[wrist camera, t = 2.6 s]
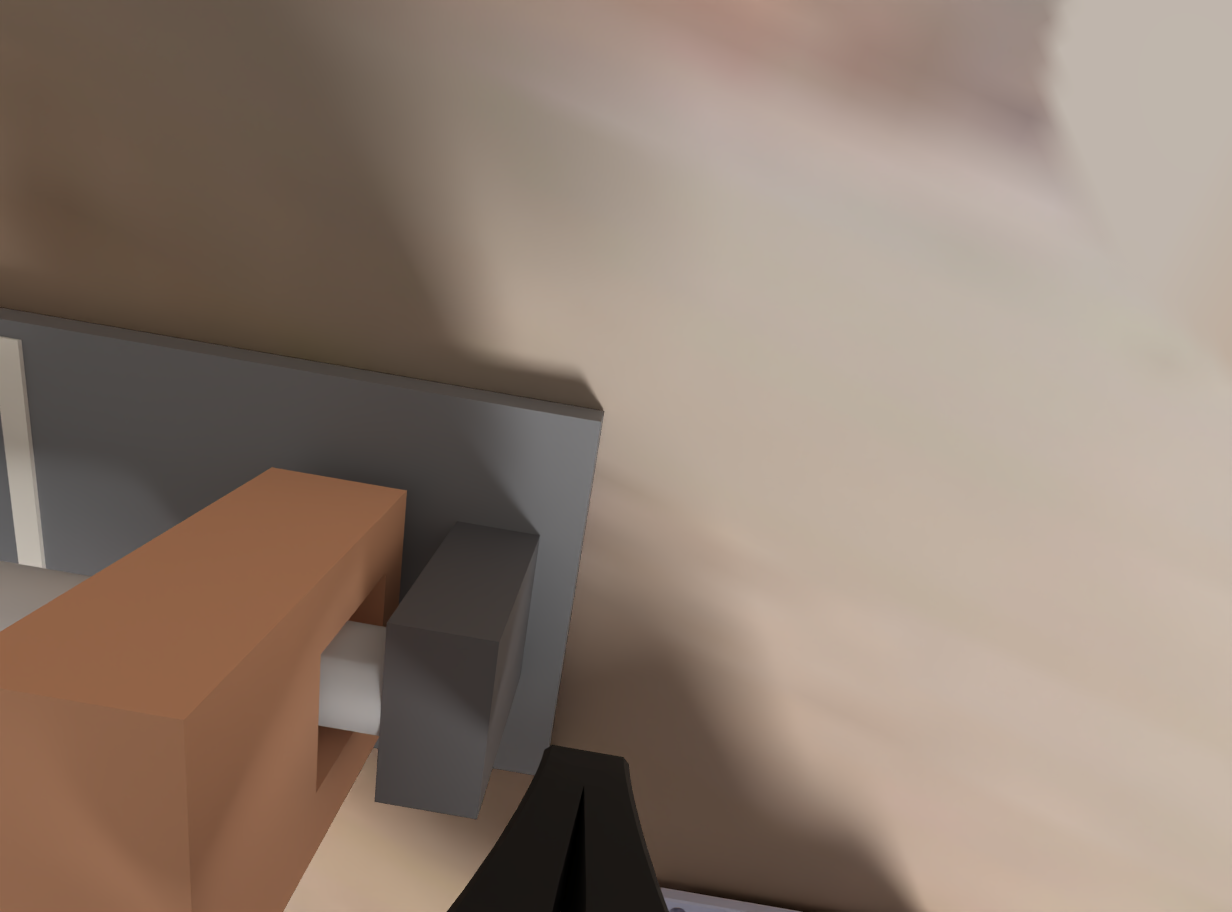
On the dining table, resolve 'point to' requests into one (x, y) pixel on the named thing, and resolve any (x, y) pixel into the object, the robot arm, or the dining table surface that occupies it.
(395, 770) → the pipe stand
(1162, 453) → the dining table surface
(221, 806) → the collar
